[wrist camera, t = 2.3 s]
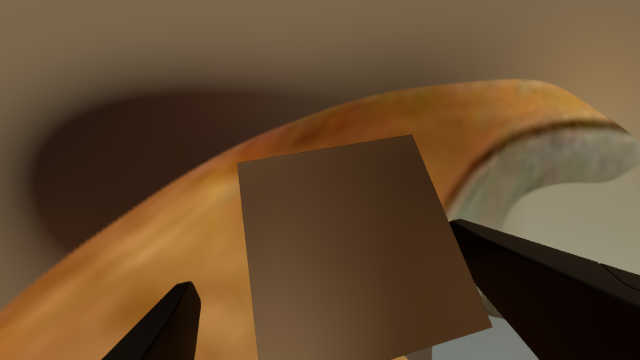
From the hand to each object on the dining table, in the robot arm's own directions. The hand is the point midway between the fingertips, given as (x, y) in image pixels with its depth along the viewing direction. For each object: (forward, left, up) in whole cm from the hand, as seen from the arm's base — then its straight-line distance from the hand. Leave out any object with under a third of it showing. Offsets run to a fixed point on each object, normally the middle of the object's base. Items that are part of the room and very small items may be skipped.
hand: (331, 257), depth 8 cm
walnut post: (0, 0, -8) cm, 8 cm away
